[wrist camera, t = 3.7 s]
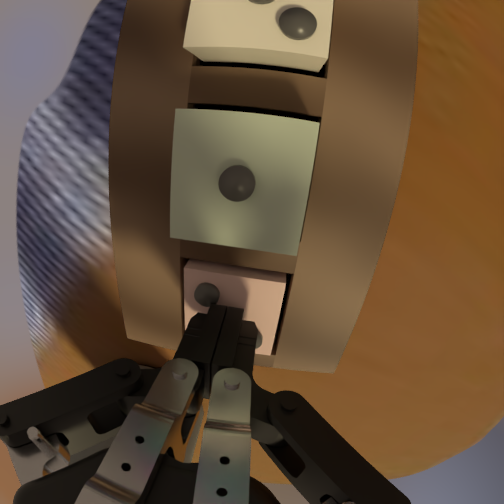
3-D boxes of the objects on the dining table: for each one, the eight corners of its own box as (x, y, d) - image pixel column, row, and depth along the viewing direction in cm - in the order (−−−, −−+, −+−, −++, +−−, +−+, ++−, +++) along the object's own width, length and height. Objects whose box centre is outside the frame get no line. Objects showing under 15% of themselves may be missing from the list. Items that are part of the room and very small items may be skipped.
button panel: (168, -11, 10) (138, -38, 6) (388, 11, 9) (417, -16, 6) (151, 300, 19) (127, 338, 15) (327, 328, 18) (333, 373, 15)
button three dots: (218, -25, 7) (201, -56, 5) (326, -16, 7) (337, -48, 5) (203, 61, 9) (179, 45, 7) (318, 72, 9) (329, 56, 6)
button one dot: (198, 111, 10) (172, 108, 8) (311, 123, 10) (321, 122, 7) (190, 214, 12) (167, 240, 10) (294, 229, 12) (296, 260, 9)
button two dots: (199, 244, 14) (181, 271, 12) (286, 257, 14) (286, 287, 12) (197, 312, 16) (184, 344, 14) (272, 324, 16) (270, 359, 14)
